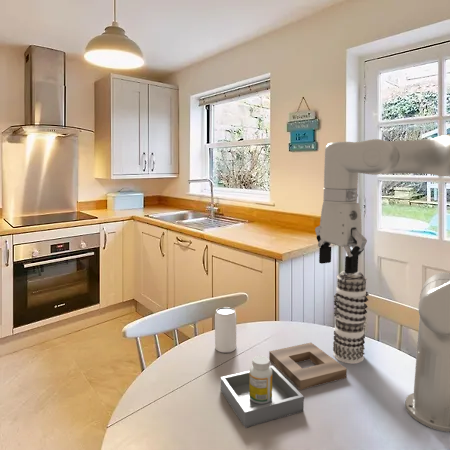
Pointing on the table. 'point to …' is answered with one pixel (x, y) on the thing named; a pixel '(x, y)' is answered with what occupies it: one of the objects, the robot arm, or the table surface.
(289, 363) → the brown wooden square frame
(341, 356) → the decorative candle
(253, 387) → the supplement bottle
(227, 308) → the can
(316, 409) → the table surface
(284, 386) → the tray
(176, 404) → the table surface
